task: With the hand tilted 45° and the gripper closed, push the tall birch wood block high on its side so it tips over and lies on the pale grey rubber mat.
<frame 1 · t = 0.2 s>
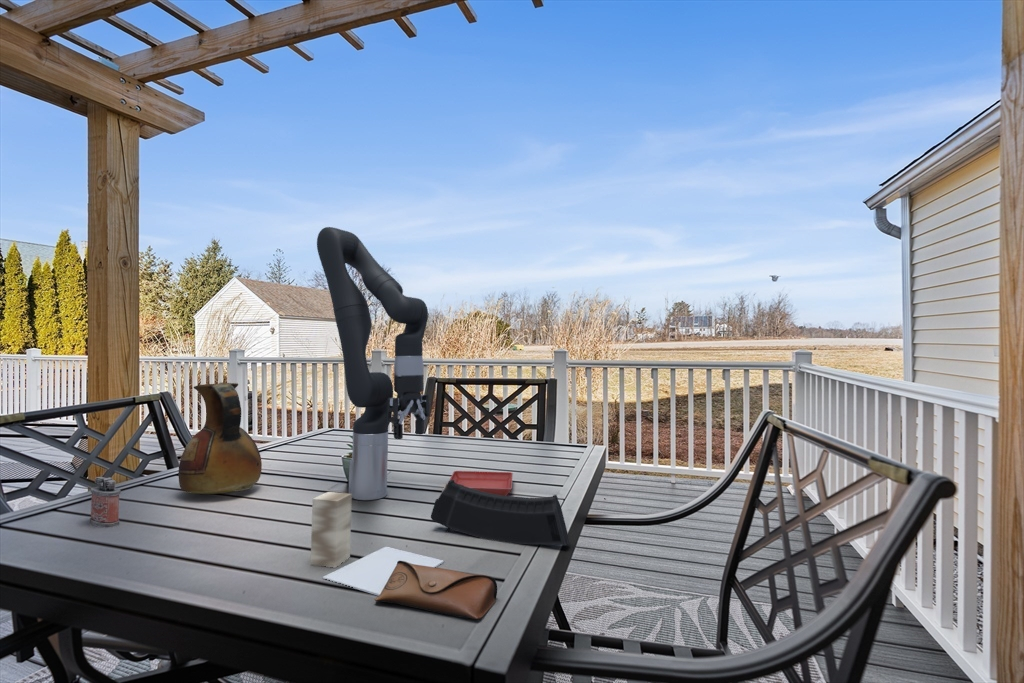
hand: (409, 436, 133), 17 cm above the table, tool pointing down, fingers open, 8 cm apart
plant saucer: (480, 491, 148), on the table
birch block: (330, 561, 95), on the table
sunglasses case: (435, 601, 81), on the table, touching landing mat
ceramic pitcher: (220, 493, 139), on the table
lighter: (104, 524, 113), on the table
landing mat: (385, 570, 92), on the table
magazine: (497, 539, 109), on the table
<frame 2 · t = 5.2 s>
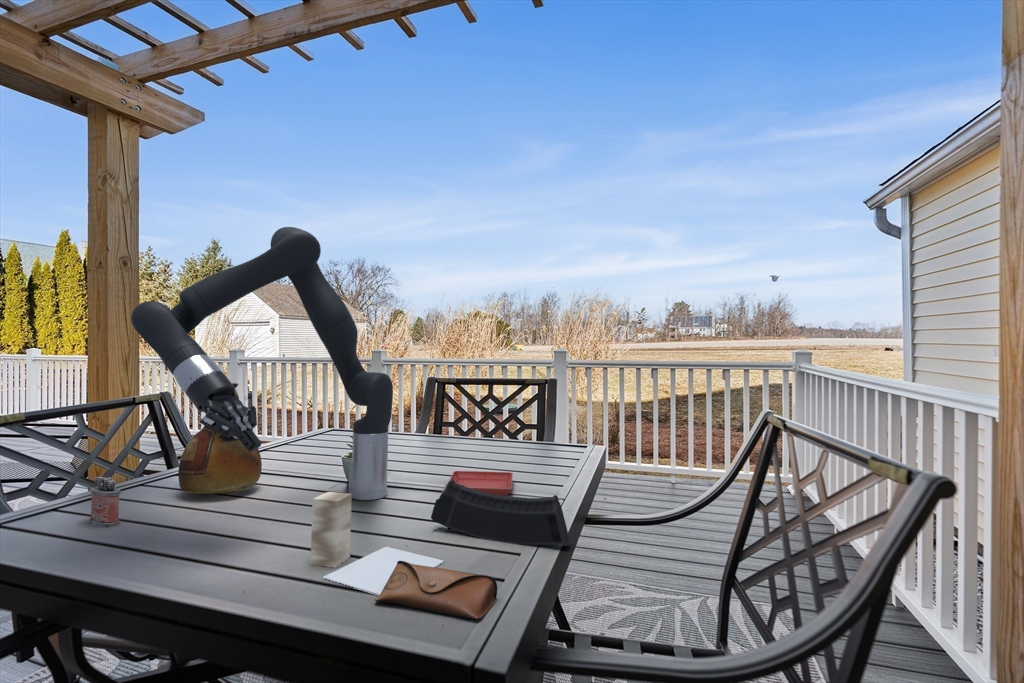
hand: (256, 448, 99), 20 cm above the table, tool tilted 45°, fingers closed
nothing on the table moved.
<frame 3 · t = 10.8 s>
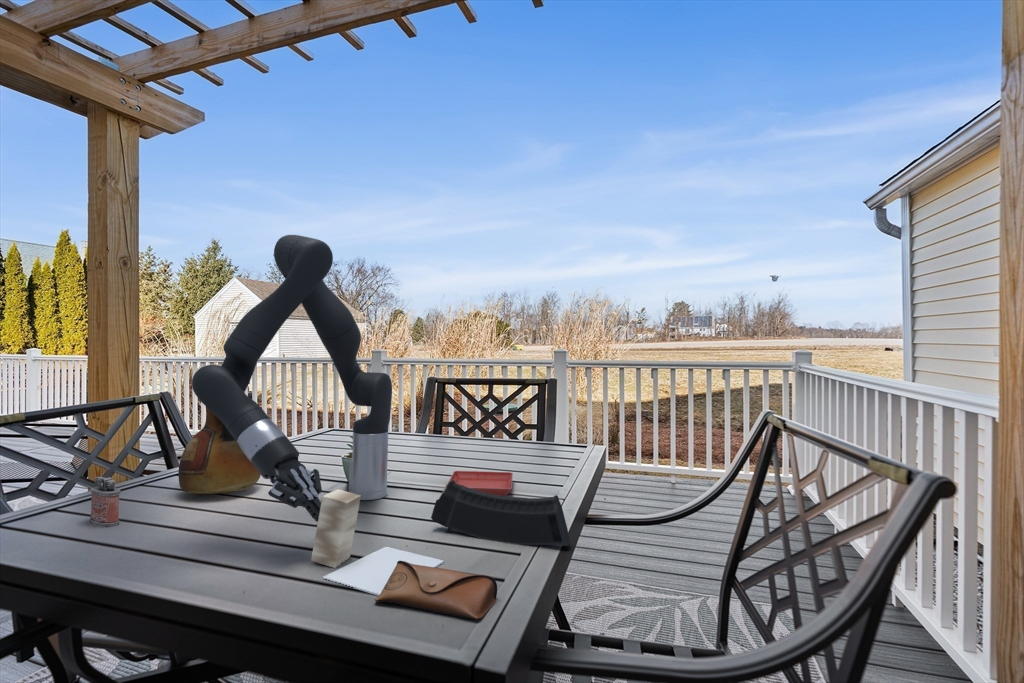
hand: (323, 517, 96), 8 cm above the table, tool tilted 45°, fingers closed
birch block: (330, 559, 95), on the table, tilted 9°, touching gripper
everything else where it was.
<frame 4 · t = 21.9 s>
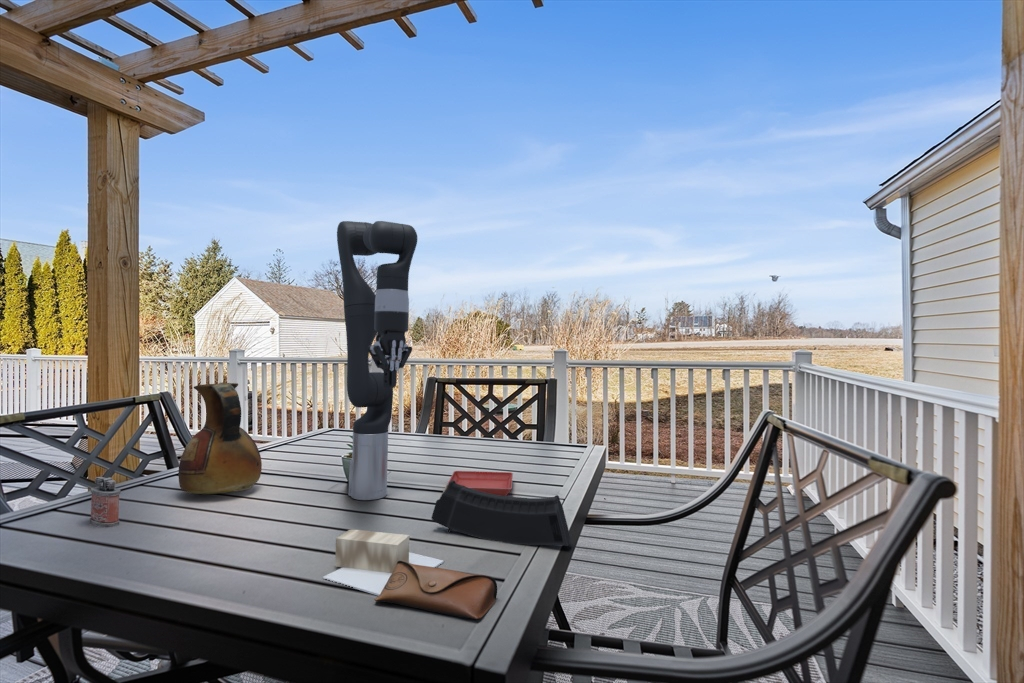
hand: (389, 387, 116), 31 cm above the table, tool pointing down, fingers closed
birch block: (343, 547, 95), point 3 cm above the table, tilted 90°, touching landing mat
everything else where it was.
at the end: birch block tilted 90°; birch block inside the target area (1.6 cm from its centre), point 2.8 cm above the table; birch block touching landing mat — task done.
